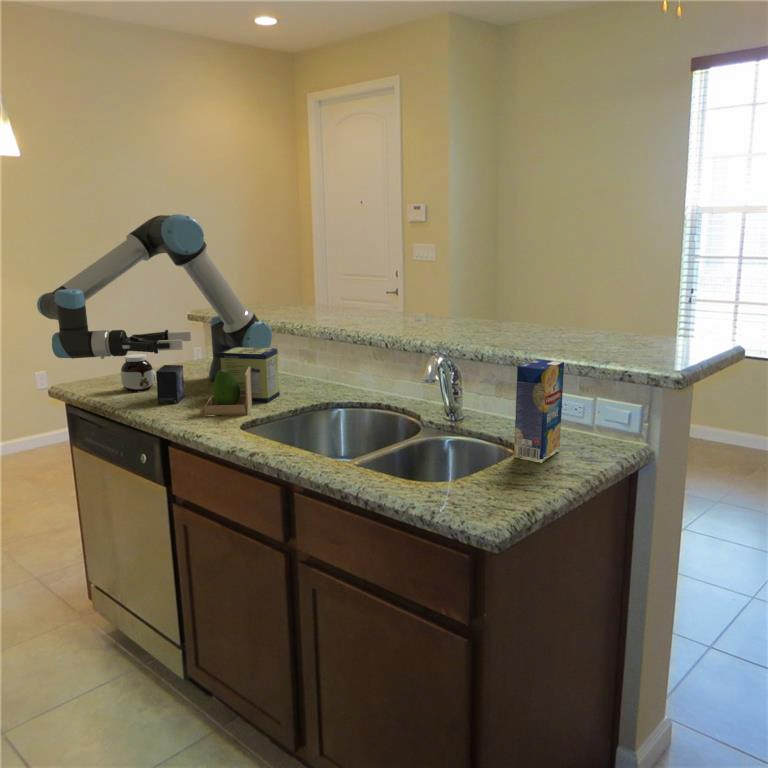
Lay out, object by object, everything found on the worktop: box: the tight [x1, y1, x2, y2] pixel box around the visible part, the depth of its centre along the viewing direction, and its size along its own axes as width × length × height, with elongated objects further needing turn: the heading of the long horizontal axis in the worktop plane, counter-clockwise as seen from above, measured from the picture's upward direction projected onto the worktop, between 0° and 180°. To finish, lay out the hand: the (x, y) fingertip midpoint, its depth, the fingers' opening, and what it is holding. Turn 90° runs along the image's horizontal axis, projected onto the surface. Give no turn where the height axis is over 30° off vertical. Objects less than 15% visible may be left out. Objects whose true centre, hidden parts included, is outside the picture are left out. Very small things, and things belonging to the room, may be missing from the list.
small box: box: [155, 364, 186, 404], centre depth 222 cm, size 11×6×10 cm, turn 4°
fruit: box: [212, 369, 240, 405], centre depth 208 cm, size 8×8×12 cm
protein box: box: [220, 347, 281, 404], centre depth 223 cm, size 10×16×16 cm
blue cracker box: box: [513, 358, 565, 459], centre depth 165 cm, size 7×11×22 cm, turn 144°
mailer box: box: [203, 367, 253, 416], centre depth 208 cm, size 12×12×12 cm
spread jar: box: [120, 353, 157, 393], centre depth 238 cm, size 12×11×12 cm
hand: (186, 340), depth 203 cm, fingers open, 13 cm apart
